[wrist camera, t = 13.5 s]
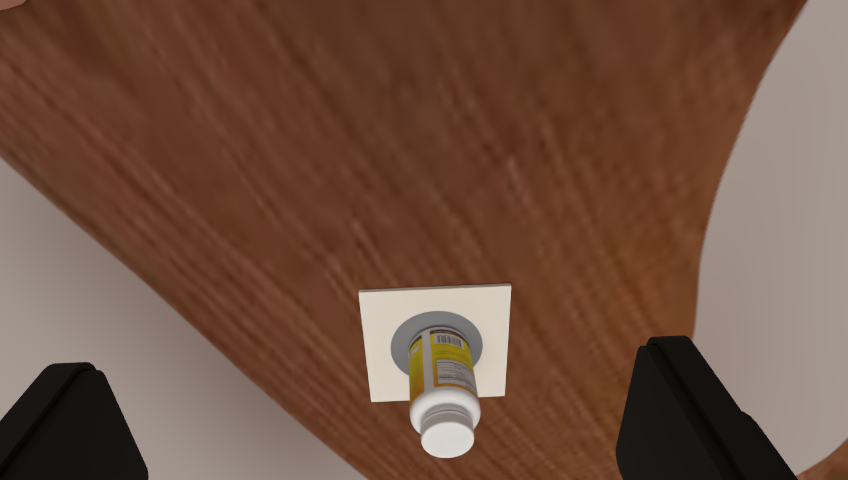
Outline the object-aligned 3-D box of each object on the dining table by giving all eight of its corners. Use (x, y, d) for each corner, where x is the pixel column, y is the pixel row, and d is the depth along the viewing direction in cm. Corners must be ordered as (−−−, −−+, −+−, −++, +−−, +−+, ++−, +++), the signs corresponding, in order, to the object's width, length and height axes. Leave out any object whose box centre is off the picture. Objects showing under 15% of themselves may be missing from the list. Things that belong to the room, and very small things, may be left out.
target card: (510, 283, 45) (511, 286, 45) (504, 392, 51) (504, 396, 51) (358, 289, 45) (358, 293, 44) (371, 398, 51) (371, 402, 51)
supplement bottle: (421, 376, 49) (425, 473, 41) (398, 334, 47) (398, 428, 38) (477, 359, 49) (494, 454, 40) (457, 315, 46) (471, 406, 37)
